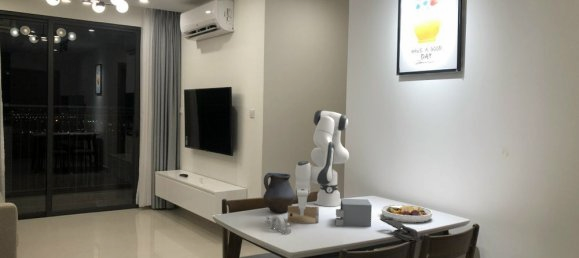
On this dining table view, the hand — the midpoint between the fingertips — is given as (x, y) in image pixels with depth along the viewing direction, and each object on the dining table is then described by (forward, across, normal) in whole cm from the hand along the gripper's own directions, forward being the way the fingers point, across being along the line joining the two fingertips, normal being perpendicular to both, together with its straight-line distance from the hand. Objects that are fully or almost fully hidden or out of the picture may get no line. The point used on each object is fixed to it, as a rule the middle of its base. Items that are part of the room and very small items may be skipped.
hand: (301, 213), depth 263 cm
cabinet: (+5, -3, +29) cm, 30 cm away
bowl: (+5, -20, +64) cm, 67 cm away
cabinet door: (+5, +1, +1) cm, 5 cm away
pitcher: (+5, -24, -15) cm, 29 cm away
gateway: (+6, +18, -13) cm, 23 cm away
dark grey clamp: (+5, +19, +52) cm, 55 cm away
